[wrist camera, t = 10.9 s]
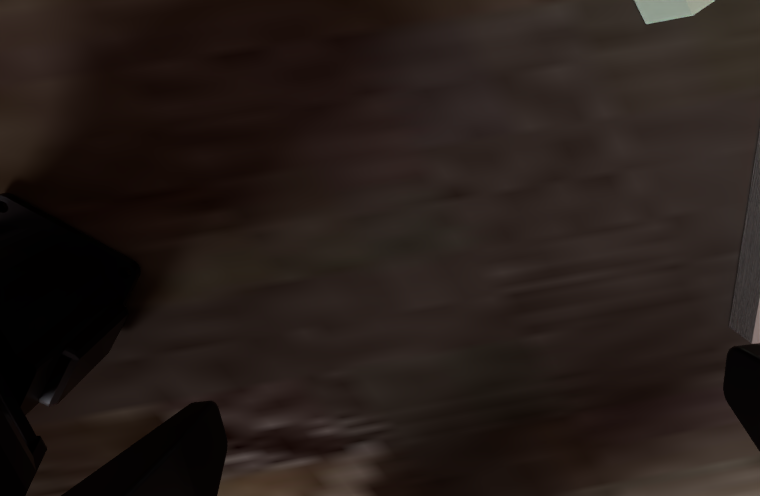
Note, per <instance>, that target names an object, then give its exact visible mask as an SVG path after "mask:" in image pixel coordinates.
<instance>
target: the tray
mask: <svg viewBox="0 0 760 496" xmlns="http://www.w3.org/2000/svg"><path fill="white" fill-rule="evenodd" d="M634 1H635V3H636V5H637V7H638V9H639V11H640V13H641V15H642V17H643V19H644V21H645V23H646V24H650V23H656V22H661V21H666V20H672V19H677V18H682V17H688V16H693V15H694V14H696V13H697V12H699V11H700V10H702V9H703V8H705V7H706V6H708V5H709V4H711V3H712V2H714V1H715V0H634Z"/></svg>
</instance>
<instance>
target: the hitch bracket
mask: <svg viewBox="0 0 760 496" xmlns="http://www.w3.org/2000/svg"><path fill="white" fill-rule="evenodd" d="M729 327H730V328H731V329H733V330H734V331H735V332H737V333H738V334H739V335H741V336H742V337H743V338H745V339H746V340H748V341H749V342H750V343H752V344H753V343H760V130H759V137H758V143H757V150H756V156H755V163H754V169H753V175H752V182H751V188H750V195H749V201H748V207H747V214H746V220H745V227H744V233H743V240H742V246H741V252H740V259H739V265H738V272H737V278H736V284H735V291H734V297H733V304H732V310H731V317H730V323H729Z"/></svg>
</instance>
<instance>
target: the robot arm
mask: <svg viewBox="0 0 760 496" xmlns="http://www.w3.org/2000/svg"><path fill="white" fill-rule="evenodd" d="M3 202H5V203H6V204H7V206H8V210H7V209H6V208H4V206H3ZM124 268H127V269H128V270H130V273H131V275H128V274H126V273H125V272H124V270H123V269H124ZM140 272H141V271H140V267H139V265H138V264H137V263H136V262H135V261H133V260H132V259H130V258H128V257H126V256H124V255H122V254H120V253H119V252H117V251H115V250H113V249H111V248H109V247H108V246H106V245H104V244H102V243H100V242H98V241H97V240H95V239H93V238H91V237H89V236H87V235H86V234H84V233H82V232H80V231H78V230H76V229H75V228H73V227H71V226H69V225H67V224H65V223H64V222H62V221H60V220H58V219H56V218H54V217H53V216H51V215H49V214H47V213H45V212H43V211H41V210H40V209H38V208H36V207H34V206H32V205H30V204H29V203H27V202H25V201H23V200H21V199H19V198H18V197H16V196H14V195H12V194H9V193H2V194H0V496H25V495H26V493H27V491H28V489H29V486H30V484H31V482H32V480H33V478H34V476H35V474H36V472H37V469H38V467H39V465H40V463H41V461H42V459H43V457H44V454H45V452H46V450H47V447H46V445H45V443H44V442H43V440H42V438H41V437H40V436H36V434H35V433H34V431H33V429H32V427H31V425H30V424H29V422H28V420H27V418H26V416H25V415H26V414H27V413H28V412H29V411H31V410H32V409H33V408H34V407H35V406H36V405H37V404H38V403H39V402H40V403H42V404H44V405H46V406H53V405H56V404H58V403H59V402H60V401H61V400H62V399H63V398H64V397H65V396H66V395H67V394H68V393H69V392H70V391H71V390H72V389H73V388H74V387H75V386H76V385H77V384H78V383H79V382H80V381H81V380H82V379H83V378H84V377H85V376H86V375H87V374H88V373H89V372H90V371H91V370H92V369H93V368H94V367H95V366H96V365H97V364H98V363H99V362H100V361H101V360H102V359H103V358H104V357H105V356H106V355H107V354H108V353H109V351H110V349H111V347H112V345H113V343H114V342H115V340H116V338H117V336H118V334H119V332H120V330H121V328H122V326H123V324H124V322H125V320H126V318H127V316H128V314H129V313H128V309H127V307H125V306H124V305H125V303H126V301H127V299H128V297H129V295H130V293H131V291H132V289H133V287H134V285H135V283H136V281H137V280H138V278H139V276H140ZM723 390H724V395H725V398H726V400H727V402H728V404H729V406H730V407H731V409H732V410H733V412H734V413H735V415H736V416H737V418H738V419H739V421H740V422H741V424H742V425H743V427H744V428H745V430H746V431H747V433H748V434H749V436H750V438H751V439H752V441H753V442H754V444H755V445H756V447H757V448H758V450H759V451H760V345H758V344H751V345H742V346H734V347H732V348H731V349H730V350H729V351H728V353H727V359H726V367H725V376H724V385H723ZM226 453H227V436H226V433H225V429H224V426H223V422H222V419H221V415H220V412H219V408H218V406H217V404H216V403H215V402H213V401H204V402H194V403H191V404H189V405H188V406H186V407H185V408H184V409H182V410H181V411H179V412H178V413H177V414H175V415H174V416H172V417H171V418H170V419H168V420H167V421H165V422H164V423H163V424H161V425H160V426H158V427H157V428H156V429H154V430H153V431H151V432H150V433H149V434H147V435H146V436H144V437H143V438H141V439H140V440H139V441H137V442H136V443H134V444H133V445H132V446H130V447H129V448H127V449H126V450H125V451H123V452H122V453H120V454H119V455H118V456H116V457H115V458H113V459H112V460H111V461H109V462H108V463H106V464H105V465H104V466H102V467H101V468H99V469H98V470H97V471H95V472H94V473H92V474H91V475H90V476H88V477H87V478H85V479H84V480H83V481H81V482H80V483H78V484H77V485H76V486H74V487H73V488H71V489H70V490H69V491H67V492H66V493H64V494H63V495H61V496H217V494H218V489H219V485H220V480H221V476H222V471H223V467H224V462H225V458H226Z"/></svg>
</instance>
